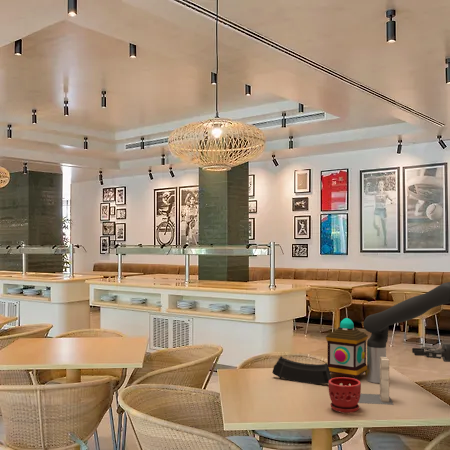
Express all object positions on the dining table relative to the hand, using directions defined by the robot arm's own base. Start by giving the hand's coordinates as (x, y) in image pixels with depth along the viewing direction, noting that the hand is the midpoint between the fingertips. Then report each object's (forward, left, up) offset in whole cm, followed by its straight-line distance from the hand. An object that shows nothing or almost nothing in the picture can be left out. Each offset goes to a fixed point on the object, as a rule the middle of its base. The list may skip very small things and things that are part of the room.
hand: (413, 351), depth 237 cm
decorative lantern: (-42, -25, -22) cm, 54 cm away
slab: (0, -12, -21) cm, 25 cm away
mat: (-1, -20, -22) cm, 30 cm away
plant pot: (+16, -30, -22) cm, 41 cm away
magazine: (-27, -48, -22) cm, 60 cm away
